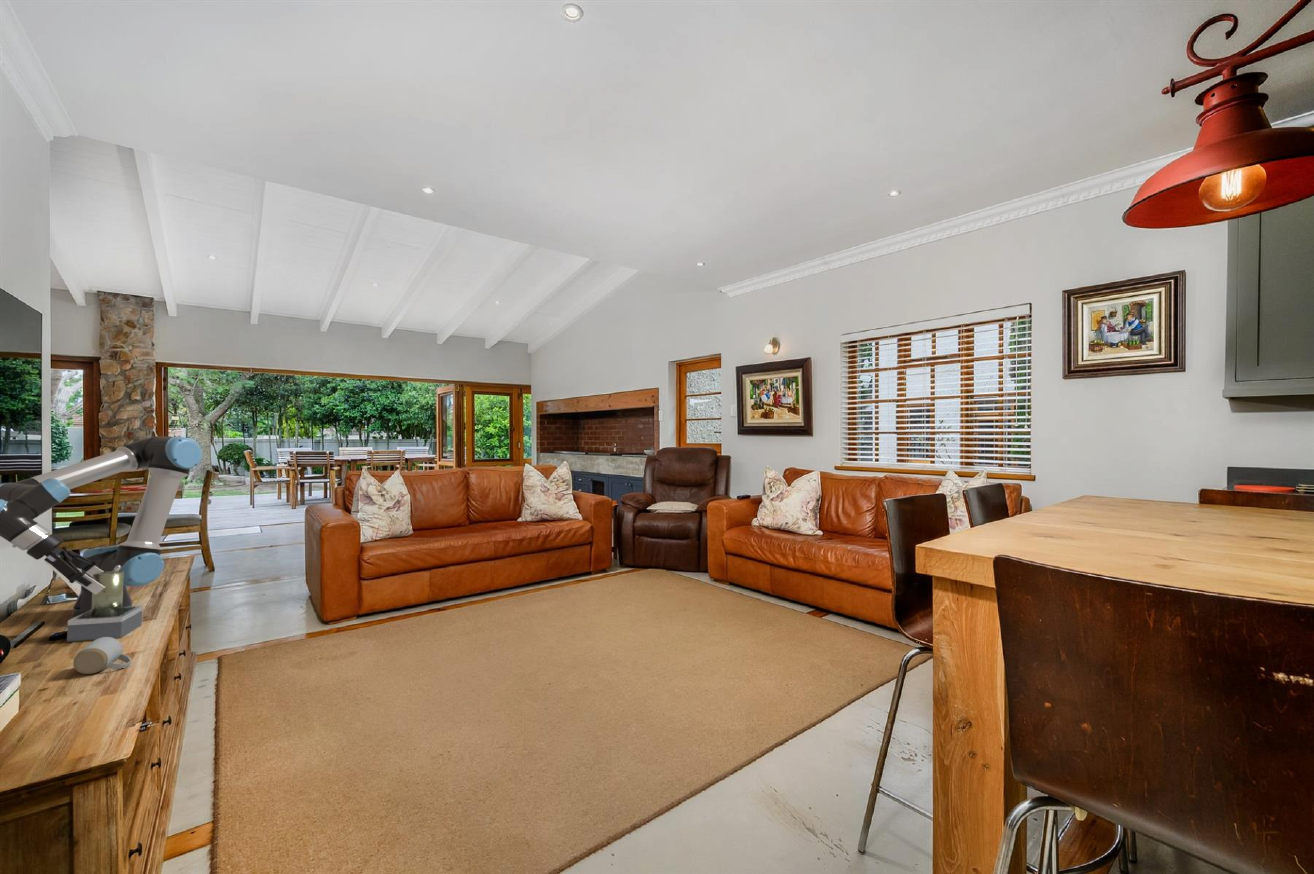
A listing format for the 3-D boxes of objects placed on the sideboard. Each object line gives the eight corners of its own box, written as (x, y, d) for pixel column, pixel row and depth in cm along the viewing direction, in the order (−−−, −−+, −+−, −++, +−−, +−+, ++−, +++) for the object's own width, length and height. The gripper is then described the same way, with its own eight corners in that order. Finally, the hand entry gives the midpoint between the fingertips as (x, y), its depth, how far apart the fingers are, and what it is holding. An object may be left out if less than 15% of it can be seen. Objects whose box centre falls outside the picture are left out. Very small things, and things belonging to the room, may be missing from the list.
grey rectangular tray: (96, 625, 183) (97, 606, 183) (145, 622, 188) (146, 603, 188) (66, 641, 168) (67, 620, 168) (120, 637, 173) (121, 617, 173)
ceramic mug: (69, 677, 144) (71, 647, 144) (85, 666, 152) (88, 637, 152) (122, 672, 148) (125, 643, 149) (136, 661, 156) (138, 634, 156)
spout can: (85, 621, 172) (88, 568, 173) (98, 615, 179) (101, 563, 179) (114, 619, 175) (117, 567, 175) (126, 613, 181) (129, 562, 182)
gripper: (37, 545, 176) (100, 587, 185) (11, 559, 156) (83, 605, 165) (62, 527, 179) (123, 569, 188) (39, 538, 159) (109, 585, 168)
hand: (105, 586), depth 176 cm, fingers open, 13 cm apart
